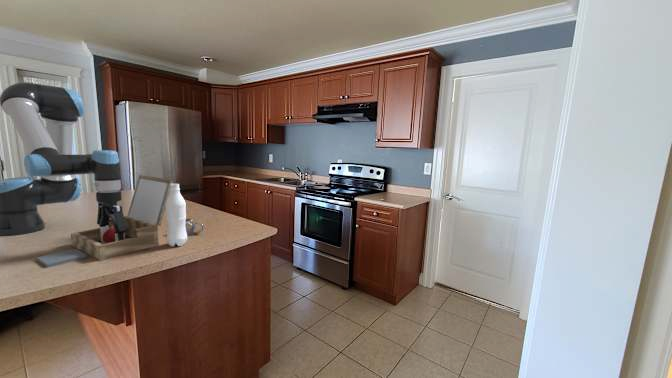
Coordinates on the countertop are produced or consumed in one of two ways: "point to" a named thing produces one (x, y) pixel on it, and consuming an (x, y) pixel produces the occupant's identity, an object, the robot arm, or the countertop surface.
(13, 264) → the countertop surface
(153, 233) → the box
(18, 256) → the countertop surface
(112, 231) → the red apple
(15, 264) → the countertop surface
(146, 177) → the lid
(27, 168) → the robot arm
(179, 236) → the water bottle
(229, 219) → the countertop surface
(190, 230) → the mug
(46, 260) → the slate mat
